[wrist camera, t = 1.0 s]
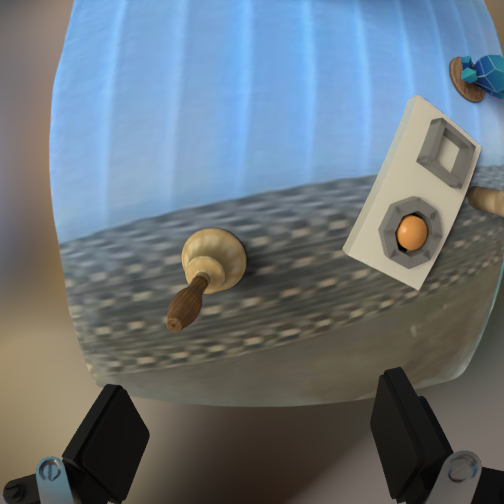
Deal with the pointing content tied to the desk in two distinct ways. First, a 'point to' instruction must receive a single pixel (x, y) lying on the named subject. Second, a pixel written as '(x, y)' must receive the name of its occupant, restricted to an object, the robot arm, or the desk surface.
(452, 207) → the panel
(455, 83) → the gemstone
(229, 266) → the hand bell
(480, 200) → the wooden cylinder rod
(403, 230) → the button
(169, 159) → the desk surface
